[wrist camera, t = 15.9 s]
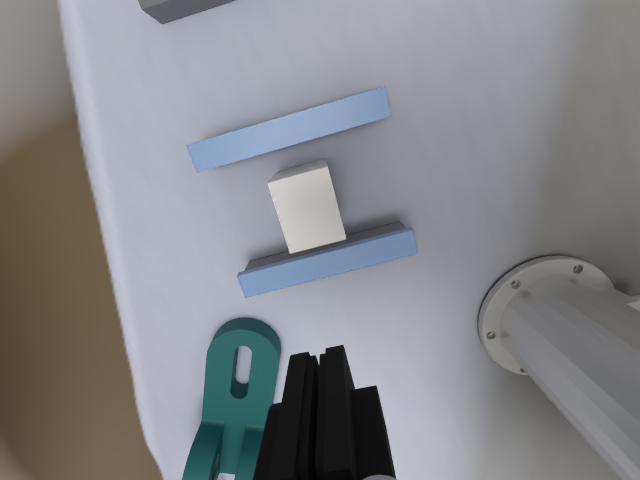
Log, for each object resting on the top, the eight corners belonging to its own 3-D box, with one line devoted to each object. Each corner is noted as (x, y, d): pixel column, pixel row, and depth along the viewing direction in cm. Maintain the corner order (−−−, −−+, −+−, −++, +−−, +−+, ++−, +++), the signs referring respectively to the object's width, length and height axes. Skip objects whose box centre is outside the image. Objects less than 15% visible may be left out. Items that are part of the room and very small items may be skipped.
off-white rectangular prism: (325, 158, 27) (327, 166, 21) (339, 215, 29) (346, 239, 22) (279, 171, 28) (267, 183, 21) (295, 226, 29) (289, 253, 23)
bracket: (264, 457, 38) (250, 538, 30) (204, 450, 37) (176, 530, 30) (285, 322, 32) (275, 378, 25) (216, 312, 32) (185, 366, 24)
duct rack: (300, -271, 20) (296, -362, 16) (405, 238, 30) (418, 253, 26) (81, -187, 21) (32, -254, 17) (253, 278, 31) (245, 297, 27)
